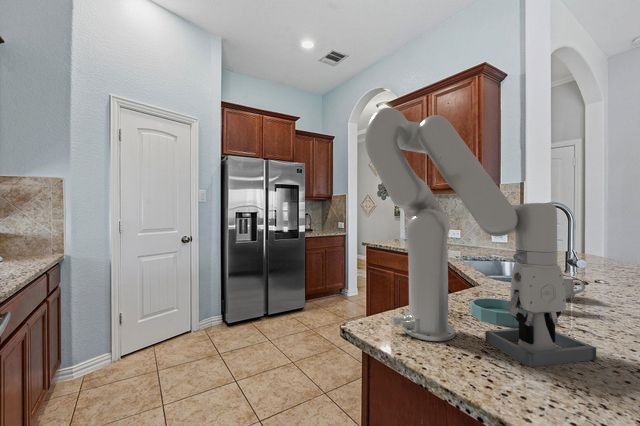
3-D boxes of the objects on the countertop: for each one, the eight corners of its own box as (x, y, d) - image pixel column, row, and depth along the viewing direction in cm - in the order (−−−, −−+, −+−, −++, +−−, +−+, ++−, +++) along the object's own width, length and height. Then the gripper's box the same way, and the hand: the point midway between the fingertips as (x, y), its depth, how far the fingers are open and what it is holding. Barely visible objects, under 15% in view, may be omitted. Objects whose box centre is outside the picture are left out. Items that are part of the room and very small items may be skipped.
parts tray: (529, 367, 58) (529, 354, 58) (485, 341, 70) (485, 330, 70) (596, 359, 61) (596, 347, 61) (542, 336, 73) (542, 326, 73)
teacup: (528, 295, 109) (528, 273, 109) (549, 292, 113) (549, 271, 113) (570, 306, 96) (570, 281, 96) (593, 303, 99) (592, 279, 99)
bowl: (496, 328, 78) (495, 314, 78) (460, 310, 92) (460, 299, 92) (543, 324, 80) (542, 311, 80) (501, 307, 95) (501, 296, 95)
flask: (565, 359, 61) (565, 311, 61) (526, 356, 62) (526, 309, 63) (546, 344, 68) (545, 301, 68) (511, 341, 70) (511, 299, 70)
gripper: (516, 262, 60) (517, 351, 60) (585, 259, 63) (586, 344, 63) (489, 257, 68) (490, 336, 68) (552, 255, 71) (553, 331, 70)
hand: (536, 339), depth 65 cm, fingers closed on flask, 4 cm apart
